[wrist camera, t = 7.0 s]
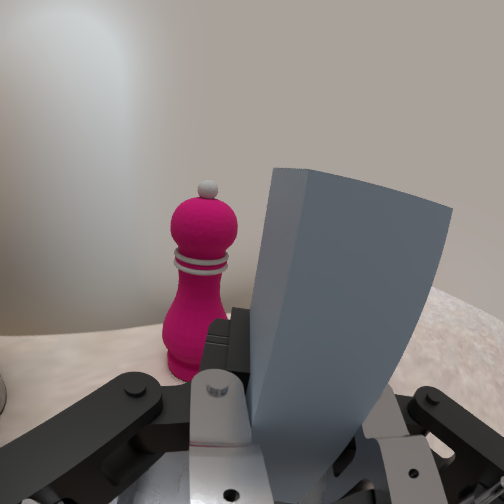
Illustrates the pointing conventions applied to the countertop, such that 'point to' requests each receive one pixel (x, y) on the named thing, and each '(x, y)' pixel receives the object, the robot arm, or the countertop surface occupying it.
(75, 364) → the countertop surface
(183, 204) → the pepper mill
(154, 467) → the rack
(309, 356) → the panel
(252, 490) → the robot arm
